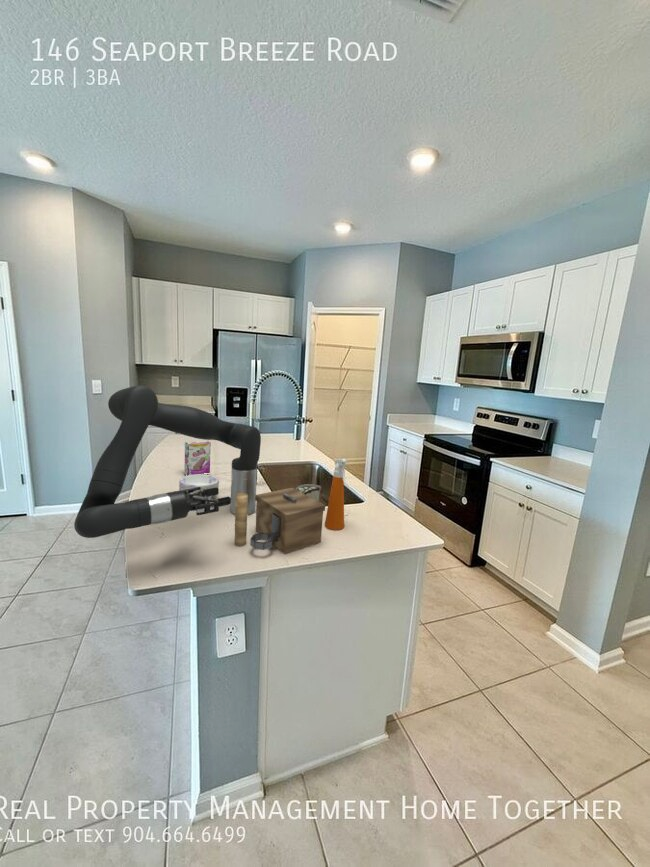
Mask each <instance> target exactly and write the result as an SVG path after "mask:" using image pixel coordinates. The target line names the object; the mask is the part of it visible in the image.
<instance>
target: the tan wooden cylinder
mask: <svg viewBox="0 0 650 867" xmlns="http://www.w3.org/2000/svg"><path fill="white" fill-rule="evenodd" d="M247 503H248V495H247V494H246V493H238V494H236V503H235V514H234V546H236V547H243V546H246V545H247V534H248V533H247V529H248V528H247V527H248V526H247V525H248V515H247Z"/></svg>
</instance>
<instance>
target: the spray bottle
mask: <svg viewBox="0 0 650 867" xmlns="http://www.w3.org/2000/svg"><path fill="white" fill-rule="evenodd" d="M347 462H348V461H347V459H346V458H338V459H336V460H335V462H334V466H335V467H334V470H333V475H332V476H333V477H332V481H331V482H332V483H331V487H330V493H329V496H328V498H329V499H328V503H327V509H326V516H325V521H324V526H325V528H327V529H328V530H331V531H339V530H342V529H344V527H345V486H344V484H346V483H347V479H346V470H345V468H346V465H347Z"/></svg>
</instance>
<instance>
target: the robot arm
mask: <svg viewBox="0 0 650 867" xmlns="http://www.w3.org/2000/svg"><path fill="white" fill-rule="evenodd" d="M107 405H108V409H109V411H110V412H111V415H113V417H115V418H116V419H118V420H120V421H121V423H120V425H119V427H118V430H117V432H116V433H115V434H114V437H113V439H111V441H110V443H109V444H108V446H107V447H106V448H105V450H104V451H103V453H102V454H101V456H100V457H99V459H98V461H97V463H96V466H95V467H94V471H93V472H92V473H93V474H92V477H91V478H90V481H89V484H88V489H87V493H86V494H85V497H84V499H83V501H82V504H81V506H80V508H79V510H78V512H77V515H76V517H75V519H74V522H73V523H74V524H73V525H74V530H75V532H76V533H77V535H79V536H80V537H83V538H84V539H85V538H86V539H94V538H99V537H102V536H106V535H110V534H114V533H117V532H120V531H125V530H130V529H137V528H140V527H147V526H150V525H151V526H152V525H158V524H162V523H166V522H171V521H176V520H180V519H184V518H186V517H187V516H188V514H189V512H192V511H193V512H195V511H196V512H195V513H196V514H195V515H196V516H202V515H206V514H207V515H208V514H213V513H217V512H219V511H220V507H224V506H229V505H230V512H231V513H232V514H233V515H235V503H236V494H238V493H246V494H247V495H248V503H247V516H248V515H253V514H255V513H256V505H257V501H256V500H255V495H257V478H258V477H257V474H258V473H257V472H258V464H259V460H260V455H261V444H262V443H261V442H262V436H261V432H260V430H259V429H258V428H257V427H256V426H252V425H248V424H243V423H235V422H230V421H226V420H222V419H220V418H219V417H217V416H216V415H214V414H212V413H210V412H208V411H205V410H202V409H200V408H197V407H194V406H193V407H192V406H188V405H180V404H169V403H163V402H162V403H161V402H159V400H158V396H157V394H156V393H155V391H154V390H153V389H151V388H150V387H148V386H146V385H134V386H129V387H126V388H122V389H119V390H117V391H115V392H114V393H113V394H112V395H111V396H110V397H109V399H108V402H107ZM149 426H152V427H156V428H159V429H163V430H165V431H169V432H173V433H176V434H180V435H182V436H183V435H184V436H187V437H191V438H194V439H197V440H203V441H218V442H221V443H223V444H225V445H228V446H230V447H232V448H235V449H238V450H240V451H239V452H240V453H239V457H236V458H233V459H232V460H231V474H230V476H231V478H230V479H231V480H230V482H231V485H230V496H224V497H220V498H210V497H209V496H212V497H213V496H217V495H218V494H220V493H219V491H220V490H219V489H218V488H217V487H215V488H210V489H206V490H205V489H204V488H203V489H201V487H196V488H191V489H187V490H179V489H178V490H176V491H175V490H174V491H170V492H164V493H158V494H153V495H150V496H147V497H142V498H137V499H131V500H128V501H125V502H118V503H116V501H117V499H118V498H119V496H120V494H121V492H122V490H123V487H124V483H125V481H126V478H127V475H128V472H129V468H130V466H131V464H132V461H133V458H134V456H135V454H136V451H137V449H138V447H139V446H140V443H141V441H142V440H143V437H144V435H145V433H146V431H147V429H148V427H149ZM205 496H206V497H205Z"/></svg>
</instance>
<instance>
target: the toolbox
mask: <svg viewBox="0 0 650 867" xmlns="http://www.w3.org/2000/svg"><path fill="white" fill-rule="evenodd" d="M255 500H256V506H255V532H256V533H269V534H272V533H273V532H272V514H276V515H277V516H279V517H280V518H281V530H280V537H278V541H277V542H274V544H273V546H274V547H275V548H277V549H278V551H280V552H281V553H282V554H284V555H286V554H290V553H293V552H296V551H298V550H302V549H304V548H307V547H311V546H314V545H316V544H319V543H321V542H322V531H323V519H324V518H323V516H324V512H326V505H325V504H323V503H322V502H320V501H319V502H318V501H316V500H314V499H312V498H310V497H309V496H307V495H305V494H303V493H301V492H299V491H297V490H296V489H295V488H293V487H289V488H283V489H279V490H278V489H277V490H274V491H268V492H263V493H258V494H256V495H255Z"/></svg>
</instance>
